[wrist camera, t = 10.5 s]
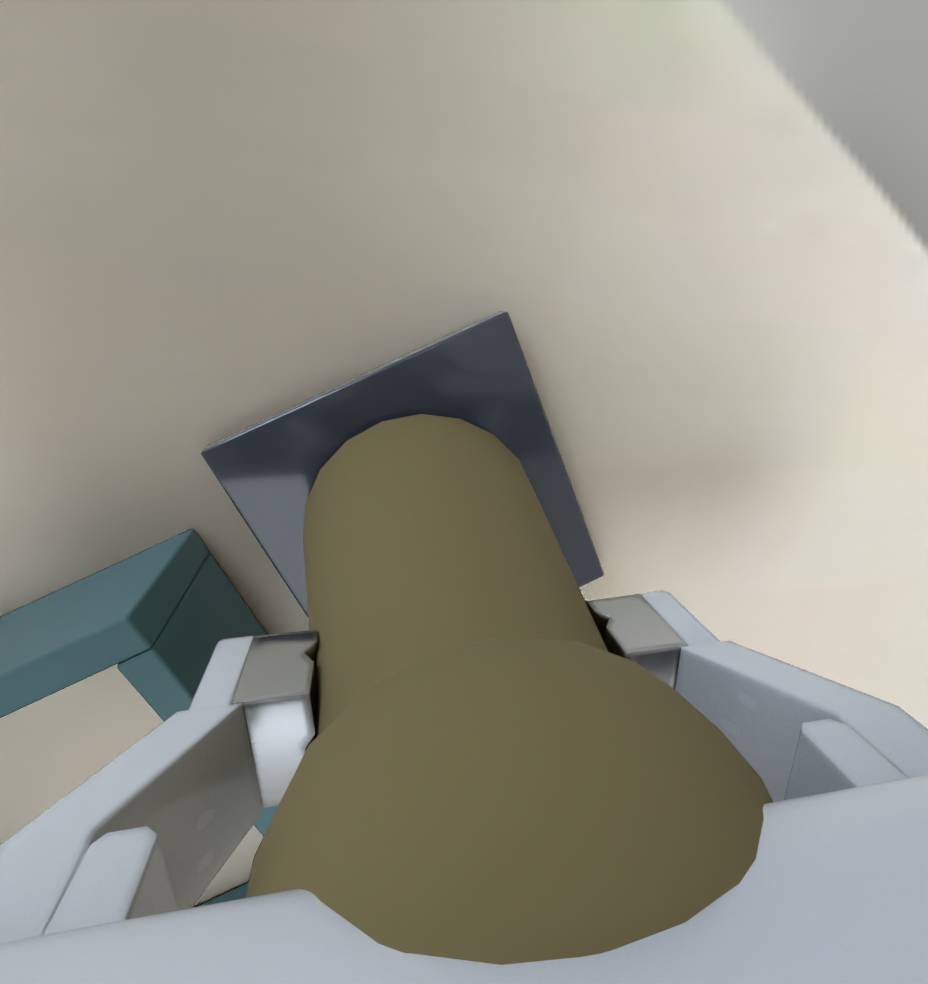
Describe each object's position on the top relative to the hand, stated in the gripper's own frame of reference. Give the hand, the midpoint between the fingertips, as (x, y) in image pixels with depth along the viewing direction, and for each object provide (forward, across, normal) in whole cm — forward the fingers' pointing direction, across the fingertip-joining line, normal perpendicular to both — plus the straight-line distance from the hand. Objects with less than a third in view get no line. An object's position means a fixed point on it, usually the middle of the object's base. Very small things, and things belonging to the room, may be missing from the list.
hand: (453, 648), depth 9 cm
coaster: (+6, 0, 0) cm, 6 cm away
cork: (+5, 0, 0) cm, 5 cm away
